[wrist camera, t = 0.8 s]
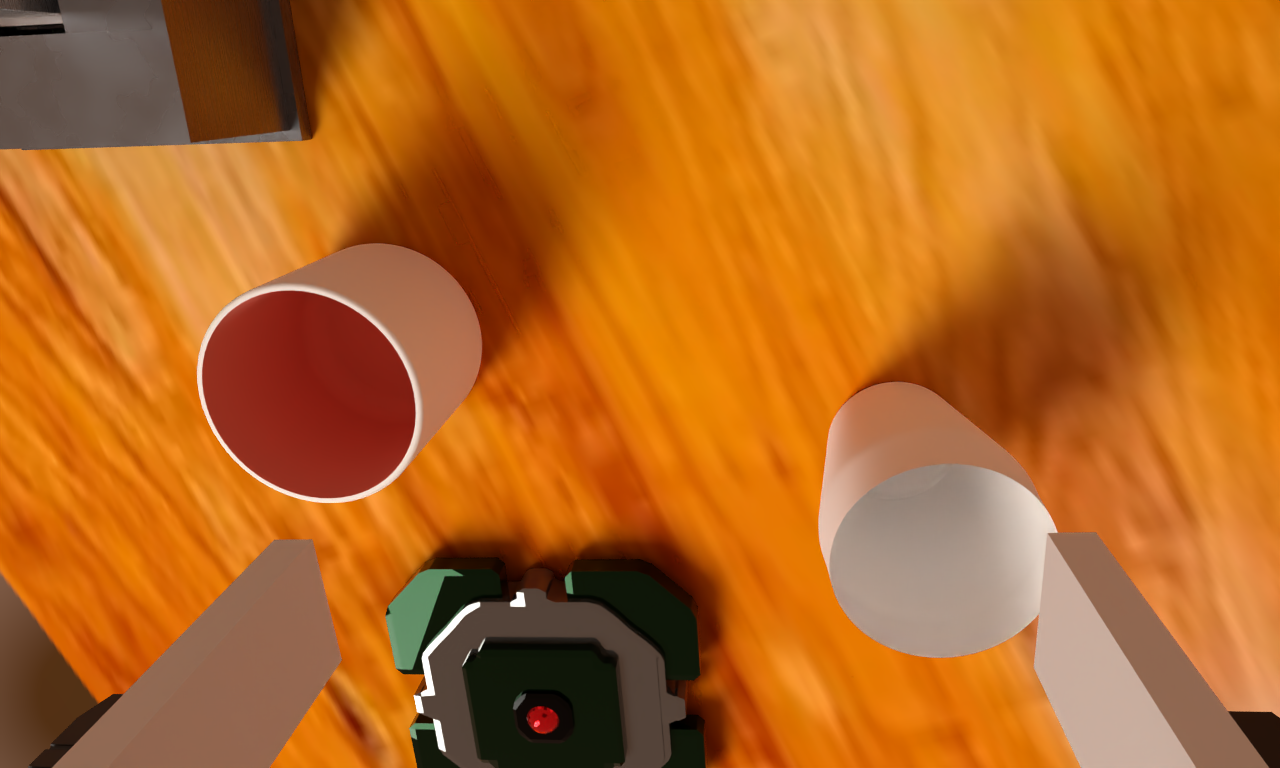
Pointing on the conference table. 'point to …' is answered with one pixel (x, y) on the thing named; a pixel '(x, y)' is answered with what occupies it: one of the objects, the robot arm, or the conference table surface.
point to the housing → (153, 76)
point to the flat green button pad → (549, 666)
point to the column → (31, 15)
